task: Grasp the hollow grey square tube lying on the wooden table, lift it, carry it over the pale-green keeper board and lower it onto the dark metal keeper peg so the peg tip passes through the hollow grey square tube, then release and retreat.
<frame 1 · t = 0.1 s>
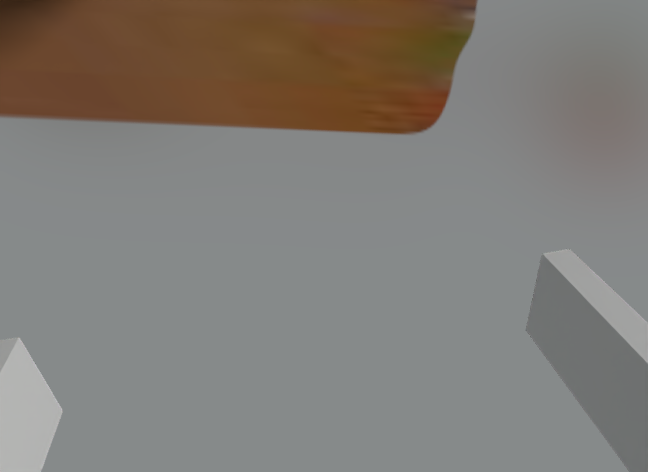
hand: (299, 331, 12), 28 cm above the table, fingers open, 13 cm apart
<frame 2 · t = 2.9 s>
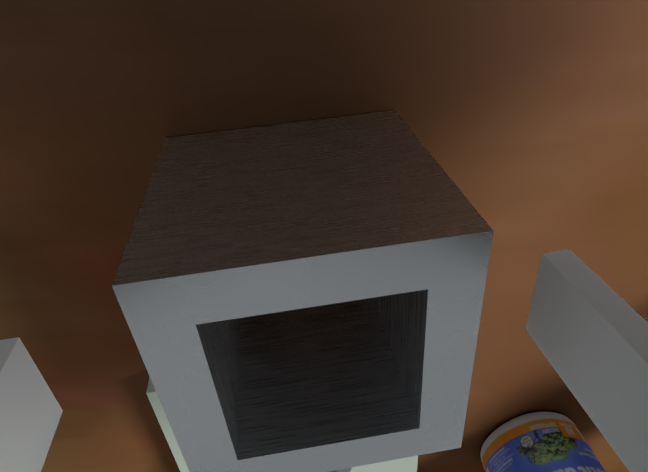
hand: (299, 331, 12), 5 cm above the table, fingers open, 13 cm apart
hollow grey square tube: (294, 221, 16), on the table
keeper: (300, 434, 23), on the table
pill bottle: (522, 436, 26), on the table
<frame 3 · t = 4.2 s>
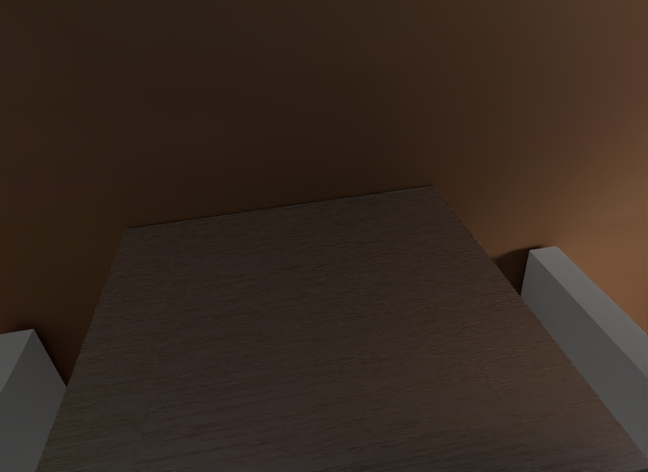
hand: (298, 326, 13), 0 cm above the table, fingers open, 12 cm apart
hollow grey square tube: (300, 320, 13), on the table
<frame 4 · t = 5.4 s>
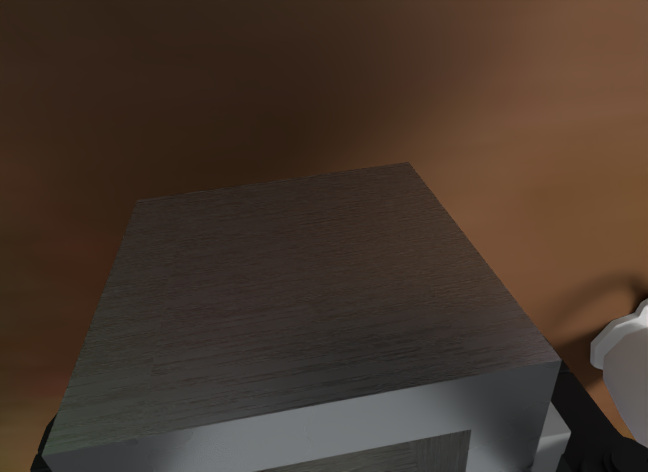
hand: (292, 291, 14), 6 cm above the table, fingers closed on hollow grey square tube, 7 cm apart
hollow grey square tube: (292, 286, 14), point 5 cm above the table, touching gripper
cup: (633, 317, 26), on the table
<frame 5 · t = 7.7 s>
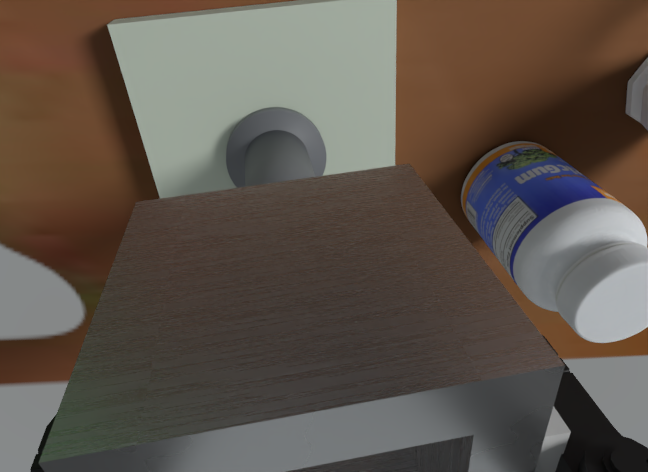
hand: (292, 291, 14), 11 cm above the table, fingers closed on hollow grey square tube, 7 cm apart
hollow grey square tube: (292, 289, 14), point 10 cm above the table, touching gripper
keeper: (274, 145, 22), on the table
pill bottle: (504, 184, 26), on the table
when the fingers open (2 cm above the table, at t = 10.0 s): hollow grey square tube stays where it is, resting on keeper.
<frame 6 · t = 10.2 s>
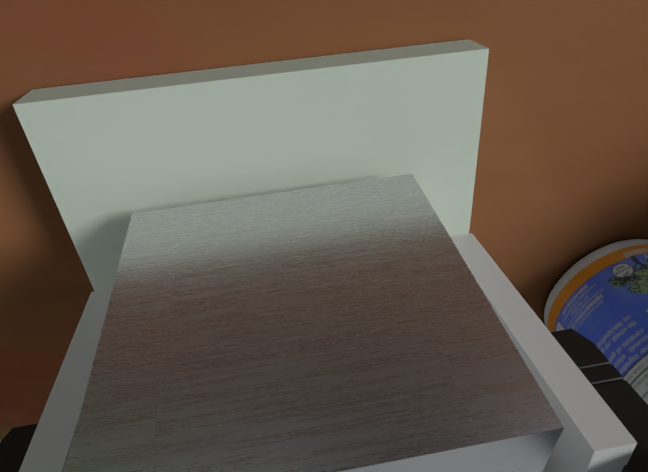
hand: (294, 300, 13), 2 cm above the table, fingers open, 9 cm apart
hollow grey square tube: (290, 291, 14), point 2 cm above the table, tilted 6°, touching keeper
keeper: (287, 256, 15), on the table
pill bottle: (601, 289, 19), on the table
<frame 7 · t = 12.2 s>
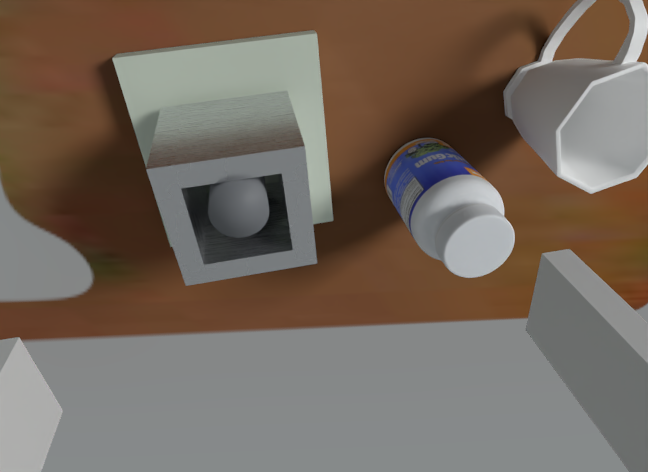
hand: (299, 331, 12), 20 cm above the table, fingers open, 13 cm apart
hollow grey square tube: (236, 154, 29), point 2 cm above the table, tilted 6°, touching keeper
keeper: (236, 143, 30), on the table
pill bottle: (418, 171, 33), on the table
cup: (538, 69, 31), on the table
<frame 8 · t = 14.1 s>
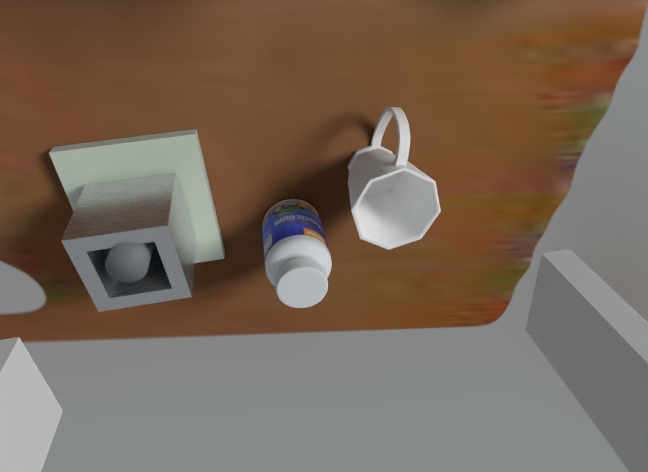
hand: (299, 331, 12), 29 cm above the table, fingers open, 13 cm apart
hollow grey square tube: (144, 214, 40), point 2 cm above the table, tilted 6°, touching keeper
keeper: (147, 203, 41), on the table
pill bottle: (290, 221, 44), on the table
cup: (373, 150, 42), on the table
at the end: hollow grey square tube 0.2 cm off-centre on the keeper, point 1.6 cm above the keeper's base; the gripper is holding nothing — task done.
